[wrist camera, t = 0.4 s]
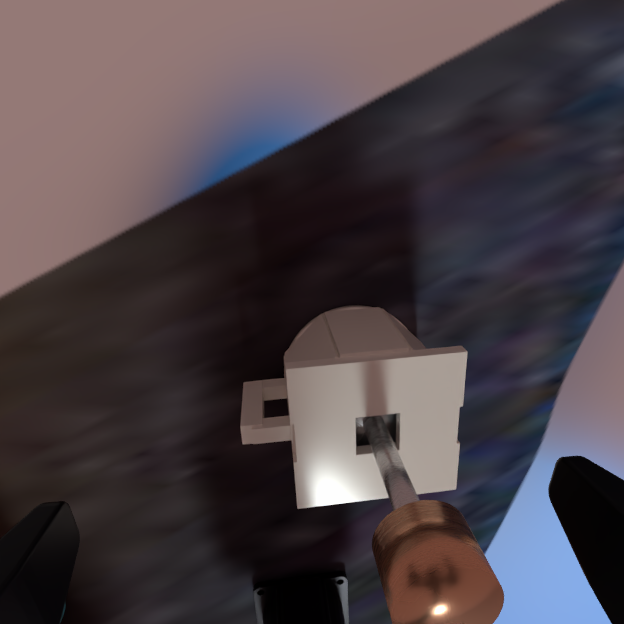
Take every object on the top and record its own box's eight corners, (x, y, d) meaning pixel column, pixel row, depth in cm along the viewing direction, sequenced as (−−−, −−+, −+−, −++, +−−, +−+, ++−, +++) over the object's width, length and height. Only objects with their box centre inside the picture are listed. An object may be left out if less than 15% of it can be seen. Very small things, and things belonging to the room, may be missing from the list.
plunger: (424, 457, 22) (528, 658, 13) (317, 469, 22) (354, 686, 13) (429, 361, 20) (555, 524, 12) (311, 372, 20) (350, 551, 11)
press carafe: (415, 418, 27) (456, 492, 21) (252, 436, 26) (249, 518, 21) (419, 299, 24) (469, 347, 19) (237, 315, 24) (229, 370, 18)
